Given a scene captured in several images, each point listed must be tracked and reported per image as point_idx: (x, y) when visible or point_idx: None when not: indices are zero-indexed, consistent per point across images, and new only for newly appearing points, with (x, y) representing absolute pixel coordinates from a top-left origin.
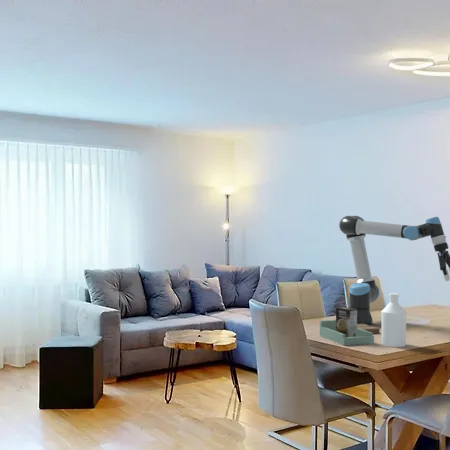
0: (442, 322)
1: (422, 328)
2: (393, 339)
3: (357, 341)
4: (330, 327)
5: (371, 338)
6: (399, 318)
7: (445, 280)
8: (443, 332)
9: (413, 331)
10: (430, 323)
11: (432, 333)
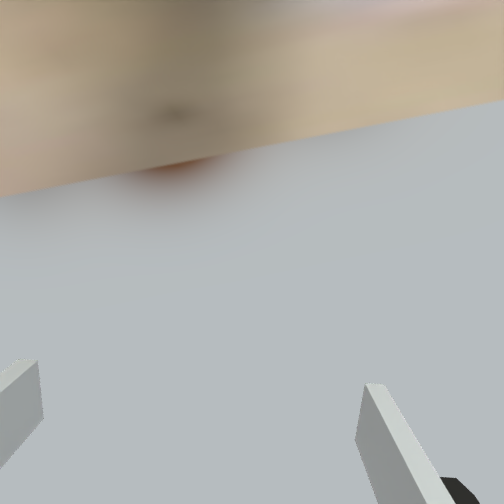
0: (430, 96)
1: (145, 31)
2: None
3: None
4: None
5: None
6: None
7: (8, 369)
8: (111, 166)
9: (4, 4)
10: (361, 32)
11: (41, 124)
